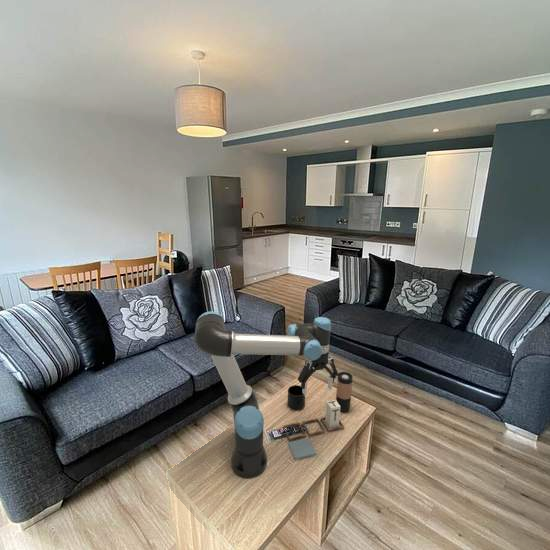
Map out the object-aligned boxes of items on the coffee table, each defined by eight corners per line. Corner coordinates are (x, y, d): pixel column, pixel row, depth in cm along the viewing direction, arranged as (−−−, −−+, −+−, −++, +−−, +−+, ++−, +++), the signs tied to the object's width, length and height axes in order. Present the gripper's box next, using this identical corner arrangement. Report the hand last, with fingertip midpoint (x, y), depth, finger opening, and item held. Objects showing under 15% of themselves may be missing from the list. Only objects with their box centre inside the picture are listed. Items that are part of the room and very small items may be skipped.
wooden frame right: (328, 432, 140) (328, 430, 139) (320, 420, 148) (320, 417, 147) (343, 429, 142) (343, 426, 142) (335, 417, 150) (335, 414, 150)
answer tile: (295, 460, 124) (295, 458, 124) (288, 444, 133) (288, 442, 132) (316, 455, 127) (316, 453, 127) (308, 439, 136) (308, 437, 135)
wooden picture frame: (288, 441, 134) (288, 438, 134) (283, 428, 142) (283, 425, 142) (305, 437, 136) (306, 435, 136) (299, 424, 144) (299, 422, 144)
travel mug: (334, 403, 160) (336, 371, 155) (348, 404, 160) (351, 371, 155) (336, 413, 153) (339, 379, 148) (351, 413, 152) (354, 380, 148)
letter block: (329, 429, 142) (331, 408, 139) (325, 422, 146) (326, 401, 144) (338, 427, 143) (340, 406, 140) (333, 420, 148) (335, 399, 145)
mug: (311, 403, 160) (312, 388, 158) (296, 413, 152) (297, 398, 150) (298, 395, 167) (299, 381, 164) (283, 404, 159) (284, 390, 156)
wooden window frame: (308, 437, 137) (308, 434, 137) (302, 424, 145) (302, 421, 144) (325, 433, 139) (325, 430, 139) (317, 420, 147) (317, 418, 147)
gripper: (298, 358, 125) (296, 401, 130) (348, 350, 133) (344, 391, 138) (292, 350, 132) (289, 391, 137) (339, 343, 140) (335, 382, 145)
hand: (317, 391), depth 138 cm, fingers open, 13 cm apart
